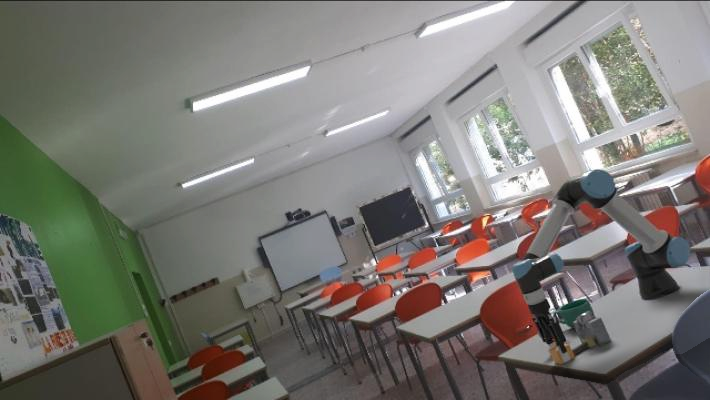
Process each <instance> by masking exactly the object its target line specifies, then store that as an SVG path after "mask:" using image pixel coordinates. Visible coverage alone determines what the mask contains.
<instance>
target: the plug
mask: <svg viewBox="0 0 710 400" xmlns="http://www.w3.org/2000/svg"><path fill="white" fill-rule="evenodd" d="M582 341H583V343H581V344H579V345H577V346H575V347H573V348H571V346H570V344H569V343H564V345H565V347H566V350H567V352H568V354H569V357H570V359H571V360H572V359H574V358H575V357H576V356H575V355H576V354H578V353H580V352H581V351H584V350H586V349H587V348H592V347H593V346H596V342H595V340H593V338H592V337H585V338H584V339H582ZM548 351H549V354H550V356H551V358H552V359H553V362H554V364H557V363H558V365H563V364H565V363H564V362H563V360H562V357H561V355H560V353H559V351H558V348H557V347H555V348H553V349H551V350H550V349H549V350H548Z"/></svg>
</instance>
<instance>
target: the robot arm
mask: <svg viewBox="0 0 710 400" xmlns="http://www.w3.org/2000/svg"><path fill="white" fill-rule="evenodd" d="M614 181H615V179H614V177H613V176H612V175H611V173H609V172H608V171H606V170H605V169H601V168H600V169H591V170H587V171H586V172H584V173H580V174H578V175H576V176H572V177H569V178H568V179H567V180H566V181H565V182H564V183H563V184H562V185H561V187H560V188H559V190H557V193H556V194H555V195H554V197H553V199H552V201H551V208H550V210H549V212H548V214H547V215H546V217H545V219H544V221H543V222H542V224H541V226H540V227H539V230H538V232H537V233H536V235H535V237H534V238H533V240H532V242H531V244H530V246H529V248H528V250H527V251H526V253H525V255H524V257H523V258H522V259H520V260H519V261H517V262H516V263H514V264H513V265H512V266H511V270H512V274H513V276H514V279H515V281H516V283H517V285H518V287H519V289H520V291H521V293H522V296H523V300H524V301H525V303H526V304H527V308H528V309H529V312H530V314H531V315H534V316H533V317H532V318H531V319H532V322H533V323H534V325H535V327H536V330H537V331H538V332H539V334H540V336H541V337H540V339H541V340H542V342H543V343H545V344H546V345H548V347H549V350H551V349H553V348H555V347H557V348H558V351H559V353H560V355H561V357H562V360H563V362H564V363H563V364H566V363H568V362H569V361H571V360H572V359H570V357H569V354H568V352H567V350H566V347H565V345H564V344H565V343H566V342H567V339H566V336H565V334H564V331H563V329H562V327H561V325H560V324H561V323H559V322H558V318H559V317H558V316H557V315H556V316H555V317H553V315H552V313H551V312H550V309H551V304H550V302H549V300H548V298H546V297H547V296H546V293H545V291H544V289H543V286H542V285H541V282H542V281H544V280H546V279H548V278H550V277H552V276H554V275H557V274H558V273H560V272H561V271H563V270H564V267H565V263H564V261H563V259H562V257H561V256H560V255H559V254H557V253H556V252H552V253H551V252H550V251H551V250H552V247H553V246H554V244H555V242H556V241H557V238H558V236H559V235H560V233H561V232H562V229H563V228H564V226H565V224H566V222H567V220H568V218H569V216H570V215H573V214H574V213H575V211H576V210H577V208H578V207H579V206H581V205H583V204H587V203H588V205H589V206H591V207H592V208H593V209H594V210H601V211H603V213H605V214H606V215H607V216H608V217H609V218H611V219H612V220H613V221H614V222H615V223H616V224H618V225H619V226H620V227H621V228H622V229H623V230H624V231H625V232H627V234H629V235H630V236H631V237H632V238H633V239H635V240H636V241H635V242H633V243H631V244H629V245H627V246H626V247H625V248H624V252H625V255H626V258H627V260H628V262H629V264H630V266H631V269H632V270H633V272H634V274H635V277H636V278H637V283H638V284H637V285H638V288H639V289H638V290H639V292H638V294H639V295H640V297H641V299H642V298H643V300H652V299H656V298H660V297H663V296H666V295H669V294H671V293H673V292H675V291H676V290H677V289H679V284H678V283H677V281H676V279H674V278H673V276H672V275H671V274H670V273H669V272H668V271H667V270H666V269H674V268H679V267H683V266H684V265H685V266H686V264H687V263H688V261H690V260H689V259H690V255H691V251H690V249H691V248H690V245H689V243H688V242H687V241H686V240H685V238H683V237H680V236H672V235H671V234H670V233H669V232H668V231H666V230H663V229H658V228H657V227H656V226H655V225H653V224H652V222H650V221H649V220H648V219H646V217H644V216H643V215H642V214H641V212H639V211H638V210H637V209H635V208H634V207H633V206H632V205H631V204H630V203H629V202H627V200H625V199H624V198H623V197H622V196H620V194H618V188H617V187H616V182H614ZM557 317H558V318H557ZM538 332H537V333H538ZM552 336H553V338H554V339H552ZM553 341H555V342H556V343H557V345H556V343H555V342H553Z"/></svg>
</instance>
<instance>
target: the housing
mask: <svg viewBox="0 0 710 400" xmlns="http://www.w3.org/2000/svg"><path fill="white" fill-rule="evenodd" d="M572 323H573V325H574V327H575V328H574V329H575V331H576V334H577V335H578V338H579V341H580V343H581V344H582V343H583V341H582V339H584V338H585V337H592V338H593V340H594V342H595V345H596V346H597V347H602V346H603V345H605V344H608V343H609V342H610V341H612V339H611V337H610V335H609V333H608V330H607V328H606V326H605V324H604V321H603V319H602V317H599V316H598V317H597V316H596V315H595V313H594V314H593V313H592V312H590V311H587V312H585V313H583V314H582V315H580V316H578V317H577V318H576V321H574V322H572Z"/></svg>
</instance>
